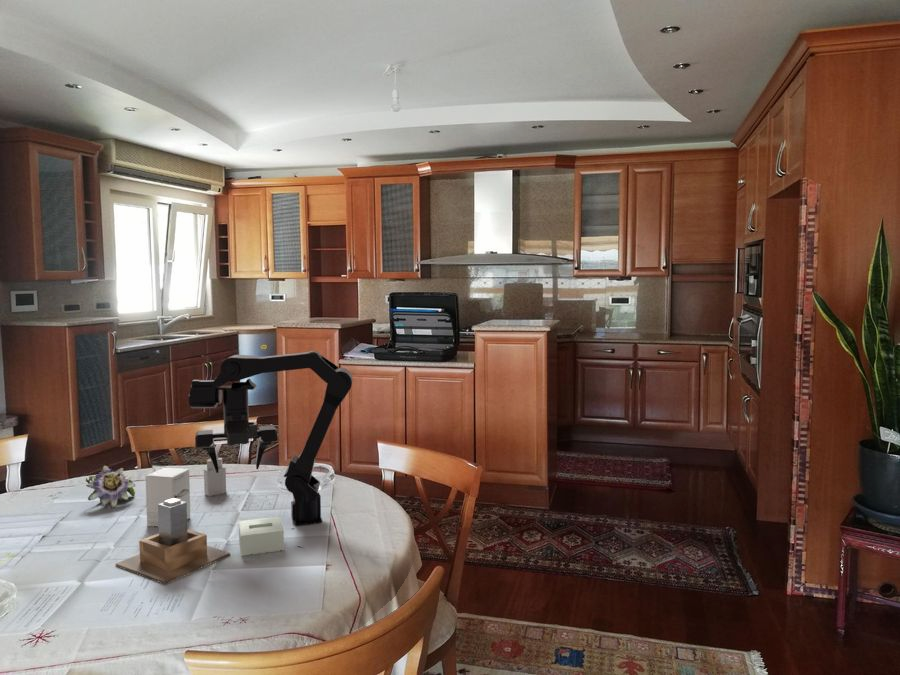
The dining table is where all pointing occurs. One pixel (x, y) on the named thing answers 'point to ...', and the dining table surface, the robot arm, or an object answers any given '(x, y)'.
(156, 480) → the supplement box
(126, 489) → the passion flower
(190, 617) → the dining table surface
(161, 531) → the square bit
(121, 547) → the dining table surface
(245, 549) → the narrow slot block
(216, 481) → the power adapter
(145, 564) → the square sleeve
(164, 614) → the dining table surface
